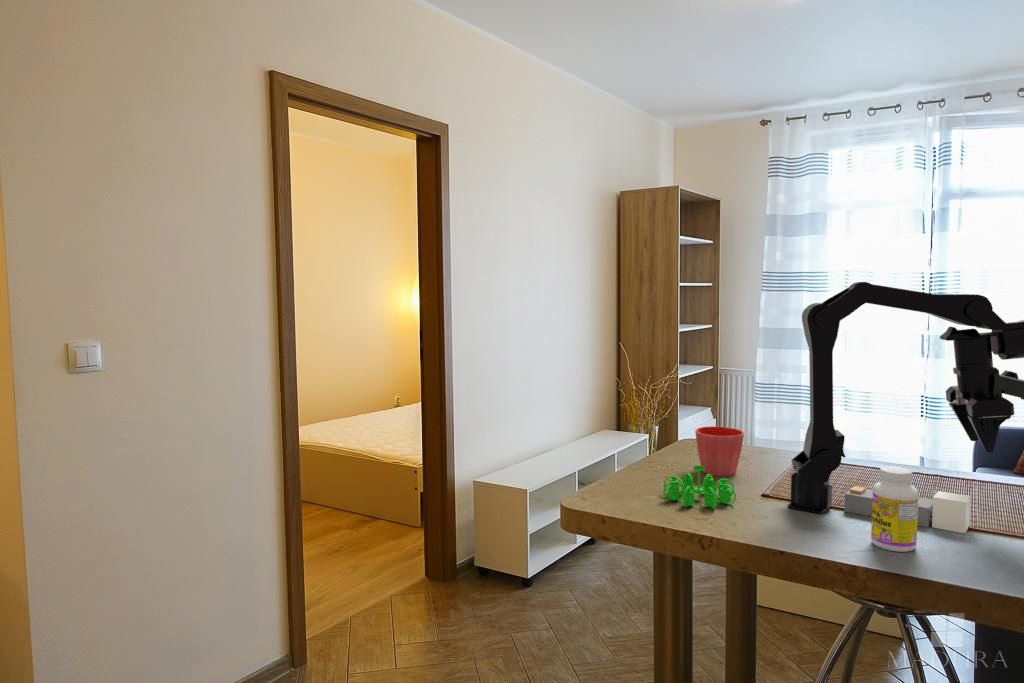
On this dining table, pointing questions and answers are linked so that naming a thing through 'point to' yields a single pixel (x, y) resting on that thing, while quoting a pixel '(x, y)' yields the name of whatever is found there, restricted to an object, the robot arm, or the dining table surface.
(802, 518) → the dining table surface
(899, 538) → the supplement bottle
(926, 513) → the power strip
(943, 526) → the charger
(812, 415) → the robot arm
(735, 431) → the flower pot
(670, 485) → the chandelier
